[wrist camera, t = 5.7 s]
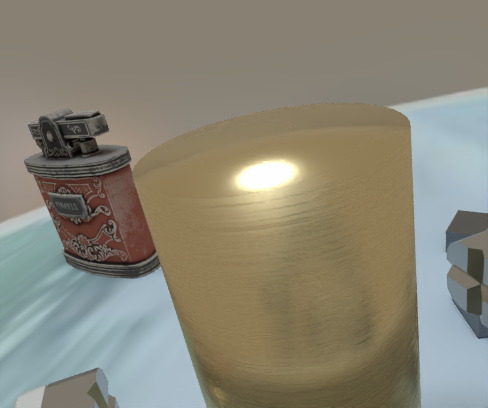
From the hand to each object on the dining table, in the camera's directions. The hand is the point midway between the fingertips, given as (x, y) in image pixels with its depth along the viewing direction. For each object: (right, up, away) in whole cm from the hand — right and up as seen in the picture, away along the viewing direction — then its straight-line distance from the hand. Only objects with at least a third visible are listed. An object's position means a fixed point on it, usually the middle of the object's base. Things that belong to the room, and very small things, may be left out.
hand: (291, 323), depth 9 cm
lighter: (-10, -1, +19) cm, 21 cm away
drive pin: (+1, -6, +2) cm, 7 cm away
